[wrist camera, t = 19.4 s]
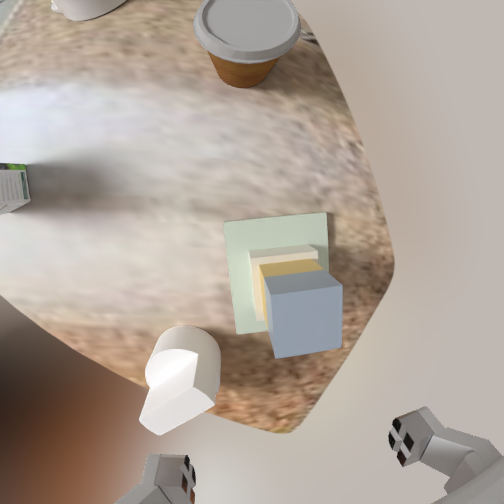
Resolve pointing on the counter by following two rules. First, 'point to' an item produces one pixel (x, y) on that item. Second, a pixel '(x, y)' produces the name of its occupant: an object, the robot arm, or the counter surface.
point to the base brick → (273, 257)
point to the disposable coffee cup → (246, 36)
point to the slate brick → (304, 312)
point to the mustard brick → (284, 273)
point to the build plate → (262, 237)
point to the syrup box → (13, 187)
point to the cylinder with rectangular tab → (180, 378)
